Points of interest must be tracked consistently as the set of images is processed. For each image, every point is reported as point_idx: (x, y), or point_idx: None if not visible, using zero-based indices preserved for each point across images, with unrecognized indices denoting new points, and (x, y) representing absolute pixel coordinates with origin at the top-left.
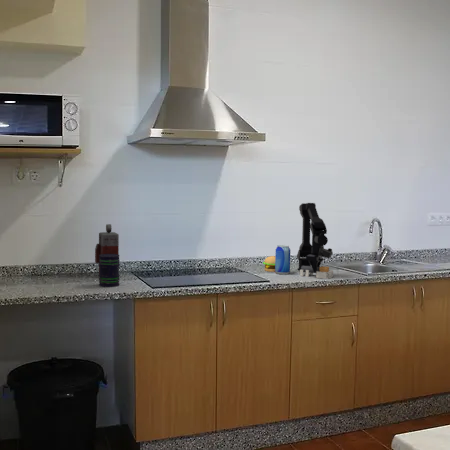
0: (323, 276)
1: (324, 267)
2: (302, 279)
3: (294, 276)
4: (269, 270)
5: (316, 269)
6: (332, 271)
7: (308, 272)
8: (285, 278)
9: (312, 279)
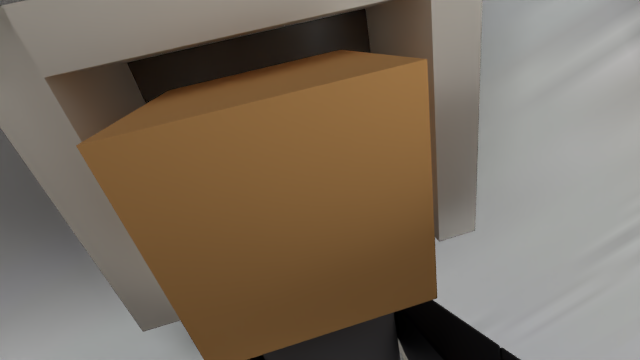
0: None
1: (426, 155)
2: (618, 204)
3: None
4: None
5: None
6: (23, 6)
7: None
8: (618, 319)
9: (573, 127)
